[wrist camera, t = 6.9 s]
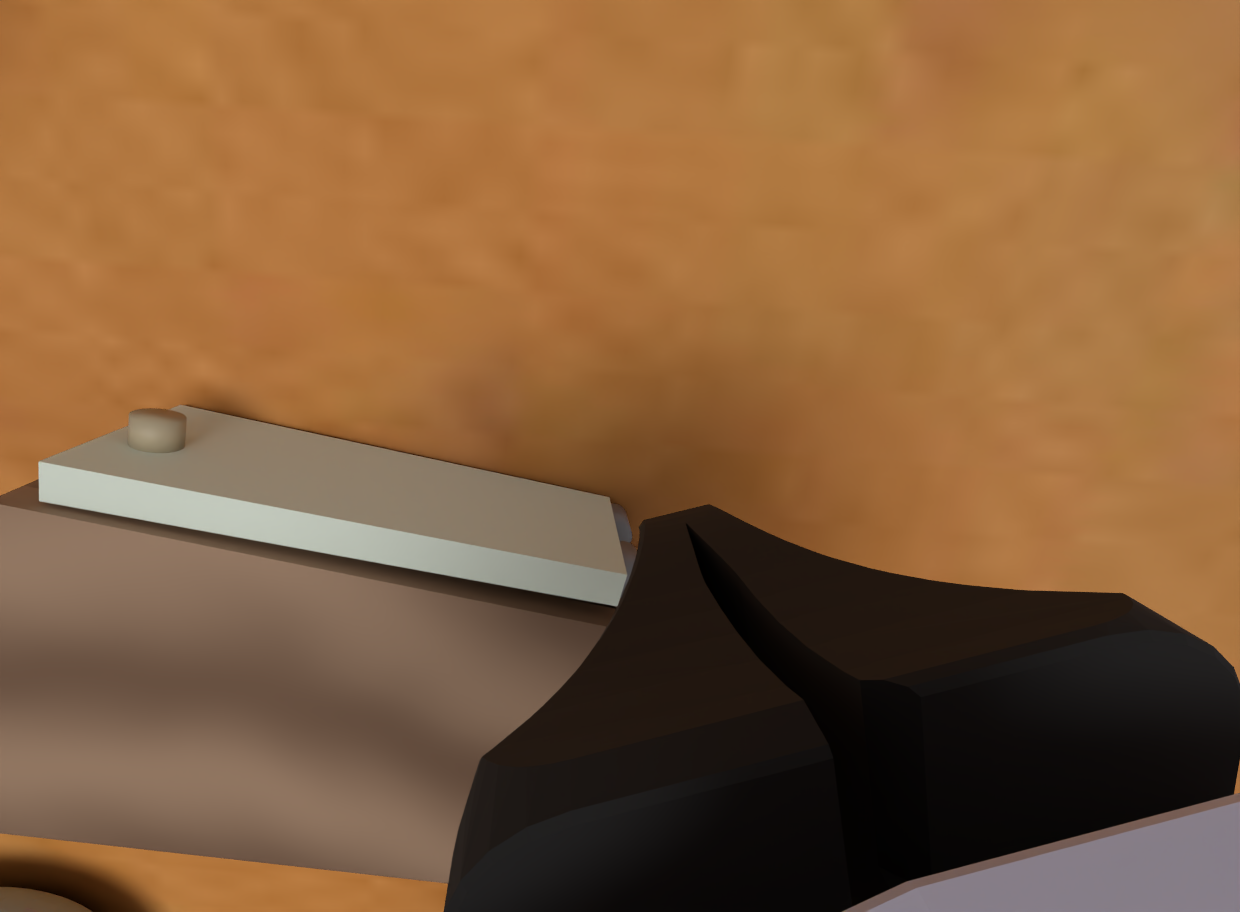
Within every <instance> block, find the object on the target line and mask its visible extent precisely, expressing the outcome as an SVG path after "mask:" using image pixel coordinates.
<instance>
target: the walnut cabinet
mask: <svg viewBox="0 0 1240 912" xmlns="http://www.w3.org/2000/svg"><path fill="white" fill-rule="evenodd" d="M620 600H621V598H620ZM620 600H619V602H620ZM618 604H619V603H618ZM616 608H617V606H612V605H606V604H601V603H595V602H590V601H584V600H579V599H573V598H568V597H562V596H557V595H551V594H546V593H540V592H535V591H529V590H524V589H518V588H513V587H507V586H502V585H497V584H491V583H486V582H480V581H475V580H469V579H464V578H458V577H453V576H447V575H442V574H436V573H431V572H425V571H420V570H414V569H409V568H403V567H398V566H392V565H387V564H381V563H376V562H370V561H365V560H359V559H354V558H348V557H343V556H337V555H332V554H326V553H321V552H315V551H310V550H304V549H299V548H294V547H288V546H283V545H277V544H272V543H266V542H261V541H255V540H250V539H244V538H239V537H233V536H228V535H222V534H217V533H211V532H206V531H200V530H195V529H189V528H184V527H178V526H173V525H167V524H162V523H156V522H151V521H145V520H140V519H134V518H129V517H123V516H118V515H112V514H107V513H101V512H96V511H91V510H85V509H80V508H74V507H69V506H63V505H58V504H52V503H47V502H41V501H39V479H38V480H36V481H33V482H31V483H29V484H27V485H24V486H22V487H20V488H17V489H15V490H13V491H10V492H8V493H6V494H3V495H1V496H0V833H2V834H11V835H20V836H29V837H38V838H47V839H56V840H65V841H74V842H83V843H92V844H101V845H110V846H118V847H127V848H136V849H145V850H154V851H163V852H172V853H181V854H190V855H199V856H208V857H217V858H226V859H235V860H244V861H252V862H261V863H270V864H279V865H288V866H297V867H306V868H315V869H324V870H333V871H342V872H351V873H360V874H369V875H378V876H387V877H395V878H404V879H413V880H422V881H431V882H440V883H448V881H449V875H450V868H451V862H452V856H453V851H454V846H455V842H456V837H457V833H458V829H459V825H460V822H461V819H462V815H463V812H464V809H465V805H466V802H467V799H468V795H469V792H470V789H471V786H472V783H473V780H474V776H475V773H476V770H477V767H478V764H479V761H480V759H481V757H482V756H483V755H485V754H486V753H487V752H489V751H490V750H491V749H493V748H494V747H495V746H496V745H498V744H499V743H500V742H501V741H502V740H504V739H505V738H506V737H507V736H508V735H510V734H511V733H512V732H513V731H514V730H516V729H517V728H518V727H519V726H520V725H522V724H523V723H524V722H525V721H526V720H528V719H529V718H530V717H531V716H532V715H533V714H534V713H536V712H537V711H538V710H539V709H540V708H541V707H542V706H543V705H544V704H545V703H546V702H547V701H548V700H549V699H550V698H551V697H552V696H553V695H554V694H555V693H556V692H557V691H558V690H559V689H560V688H561V687H562V686H563V685H564V684H565V683H566V681H567V680H568V679H569V678H570V677H571V676H572V675H573V674H574V673H575V671H576V670H577V669H578V668H579V667H580V665H581V664H582V663H583V661H584V660H585V659H586V657H587V656H588V655H589V653H590V652H591V650H592V649H593V647H594V646H595V644H596V643H597V642H598V640H599V639H600V637H601V635H602V634H603V632H604V630H605V629H606V627H607V625H608V623H609V622H610V620H611V618H612V616H613V614H614V612H615V610H616Z"/></svg>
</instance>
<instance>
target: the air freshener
mask: <svg viewBox="0 0 1240 912" xmlns="http://www.w3.org/2000/svg"><path fill="white" fill-rule="evenodd" d="M0 912H93V911H91V910H89V909H87V908H86V907H84V906H82V905H81V904H78V903H76V902H74V901H72V900H69V899H67V898H65V897H61V896H58V895H55V894H52V893H48V892H43V891H38V890H33V889H27V888H15V887H0Z"/></svg>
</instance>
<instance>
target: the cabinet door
mask: <svg viewBox="0 0 1240 912" xmlns="http://www.w3.org/2000/svg"><path fill="white" fill-rule="evenodd" d="M39 501H41V502H47V503H52V504H58V505H63V506H69V507H74V508H80V509H85V510H91V511H96V512H101V513H107V514H112V515H118V516H123V517H129V518H134V519H140V520H145V521H151V522H156V523H162V524H167V525H173V526H178V527H184V528H189V529H195V530H200V531H206V532H211V533H217V534H222V535H228V536H233V537H239V538H244V539H250V540H255V541H261V542H266V543H272V544H277V545H283V546H288V547H294V548H299V549H304V550H310V551H315V552H321V553H326V554H332V555H337V556H343V557H348V558H354V559H359V560H365V561H370V562H376V563H381V564H387V565H392V566H398V567H403V568H409V569H414V570H420V571H425V572H431V573H436V574H442V575H447V576H453V577H458V578H464V579H469V580H475V581H480V582H486V583H491V584H497V585H502V586H507V587H513V588H518V589H524V590H529V591H535V592H540V593H546V594H551V595H557V596H562V597H568V598H573V599H579V600H584V601H590V602H595V603H601V604H606V605H612V606H618V603H619V600H620V598H621V597H622V595H623V592H624V590H625V587H626V585H627V582H628V580H629V577H630V574H631V571H632V568H633V564H634V561H635V558H636V554H637V550H636V548H635V547H634V545H632V544H631V543H630V542H631V540H632V532H631V528H630V525H629V521H628V518H627V514H626V511H625V509H624V508H623V507H622V506H620V505H618V504H611V502H610V498H609V497H606V496H601V495H597V494H592V493H587V492H583V491H578V490H574V489H569V488H564V487H560V486H555V485H550V484H546V483H541V482H537V481H532V480H527V479H523V478H518V477H513V476H509V475H504V474H499V473H495V472H490V471H486V470H481V469H476V468H472V467H467V466H462V465H458V464H453V463H448V462H444V461H439V460H435V459H430V458H425V457H421V456H416V455H411V454H407V453H402V452H398V451H393V450H388V449H384V448H379V447H374V446H370V445H365V444H360V443H356V442H351V441H347V440H342V439H337V438H333V437H328V436H323V435H319V434H314V433H310V432H305V431H300V430H296V429H291V428H286V427H282V426H277V425H272V424H268V423H263V422H259V421H254V420H249V419H245V418H240V417H235V416H231V415H226V414H221V413H217V412H212V411H208V410H203V409H198V408H194V407H189V406H184V405H179V406H176V407H174V408H171V409H169V410H166V409H153V408H150V409H138V410H134V411H132V412H130V413H129V426H126V427H124V428H121V429H119V430H116V431H114V432H111V433H109V434H106V435H104V436H101V437H99V438H96V439H94V440H91V441H89V442H86V443H84V444H81V445H79V446H76V447H74V448H71V449H69V450H66V451H64V452H61V453H59V454H56V455H54V456H51V457H49V458H46V459H44V460H41V461H39Z"/></svg>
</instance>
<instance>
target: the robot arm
mask: <svg viewBox="0 0 1240 912" xmlns="http://www.w3.org/2000/svg"><path fill="white" fill-rule="evenodd" d="M639 530H640V538H639V545H638V550H637V554H636V558H635V561H634V564H633V568H632V571H631V574H630V577H629V580H628V582H627V585H626V587H625V590H624V592H623V595H622V597H621V600H620V602H619V604H618V606H617V608H616V610H615V612H614V614H613V616H612V618H611V620H610V622H609V623H608V625H607V627H606V629H605V630H604V632H603V634H602V635H601V637H600V639H599V640H598V642H597V643H596V644H595V646H594V647H593V649H592V650H591V652H590V653H589V655H588V656H587V657H586V659H585V660H584V661H583V663H582V664H581V665H580V667H579V668H578V669H577V670H576V671H575V673H574V674H573V675H572V676H571V677H570V678H569V679H568V680H567V681H566V683H565V684H564V685H563V686H562V687H561V688H560V689H559V690H558V691H557V692H556V693H555V694H554V695H553V696H552V697H551V698H550V699H549V700H548V701H547V702H546V703H545V704H544V705H543V706H542V707H541V708H540V709H539V710H538V711H537V712H536V713H534V714H533V715H532V716H531V717H530V718H529V719H528V720H526V721H525V722H524V723H523V724H522V725H520V726H519V727H518V728H517V729H516V730H514V731H513V732H512V733H511V734H510V735H508V736H507V737H506V738H505V739H504V740H502V741H501V742H500V743H499V744H498V745H496V746H495V747H494V748H493V749H491V750H490V751H489V752H487V753H486V754H485V755H483V756H482V757H481V759H480V761H479V764H478V767H477V770H476V773H475V776H474V780H473V783H472V786H471V789H470V792H469V795H468V799H467V802H466V805H465V809H464V812H463V815H462V819H461V822H460V825H459V829H458V833H457V837H456V842H455V846H454V851H453V856H452V862H451V868H450V875H449V881H448V888H447V894H446V901H445V907H444V912H1240V793H1238V794H1234V790H1235V784H1236V778H1237V772H1238V766H1239V760H1240V683H1239V680H1238V677H1237V675H1236V672H1235V670H1234V667H1233V666H1232V665H1231V664H1230V663H1229V662H1228V661H1227V660H1226V659H1225V658H1224V657H1223V656H1222V655H1221V654H1220V653H1219V652H1218V651H1217V650H1216V649H1215V648H1214V647H1213V646H1212V645H1210V644H1208V643H1207V642H1205V641H1203V640H1202V639H1200V638H1198V637H1196V636H1195V635H1193V634H1191V633H1190V632H1188V631H1186V630H1185V629H1183V628H1181V627H1180V626H1178V625H1176V624H1175V623H1173V622H1171V621H1169V620H1168V619H1166V618H1164V617H1163V616H1161V615H1159V614H1158V613H1156V612H1154V611H1153V610H1151V609H1149V608H1147V607H1146V606H1144V605H1142V604H1141V603H1139V602H1137V601H1136V600H1134V599H1132V598H1131V597H1129V596H1127V595H1125V594H1123V593H1097V592H1062V591H1027V590H1013V589H1002V588H991V587H981V586H970V585H962V584H954V583H946V582H939V581H932V580H927V579H921V578H915V577H910V576H904V575H899V574H893V573H889V572H884V571H880V570H875V569H871V568H867V567H863V566H860V565H856V564H852V563H849V562H845V561H842V560H838V559H834V558H831V557H828V556H825V555H822V554H819V553H816V552H814V551H811V550H808V549H806V548H803V547H800V546H798V545H795V544H792V543H790V542H787V541H785V540H783V539H780V538H778V537H776V536H773V535H771V534H769V533H767V532H765V531H762V530H760V529H758V528H756V527H754V526H752V525H750V524H748V523H746V522H744V521H742V520H740V519H738V518H736V517H734V516H732V515H730V514H728V513H726V512H724V511H722V510H720V509H718V508H716V507H714V506H712V505H709V504H708V505H704V506H700V507H696V508H691V509H687V510H683V511H679V512H675V513H671V514H667V515H663V516H659V517H655V518H651V519H646V520H644V521H643V522H642V524H641V525H640V526H639Z"/></svg>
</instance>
